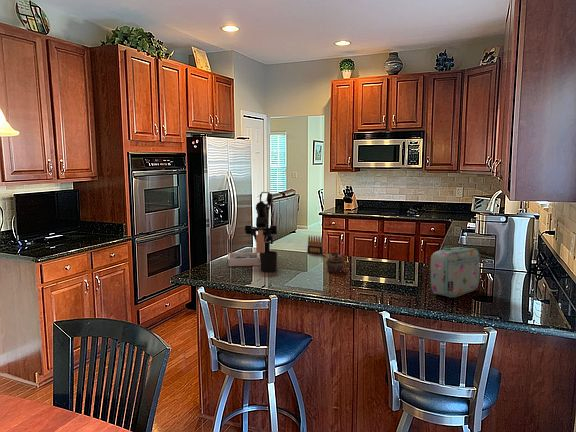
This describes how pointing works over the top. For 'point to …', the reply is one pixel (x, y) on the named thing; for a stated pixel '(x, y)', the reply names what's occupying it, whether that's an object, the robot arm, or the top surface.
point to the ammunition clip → (315, 245)
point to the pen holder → (268, 261)
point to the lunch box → (455, 271)
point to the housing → (243, 259)
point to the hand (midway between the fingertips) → (260, 241)
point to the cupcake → (334, 262)
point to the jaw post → (260, 242)
